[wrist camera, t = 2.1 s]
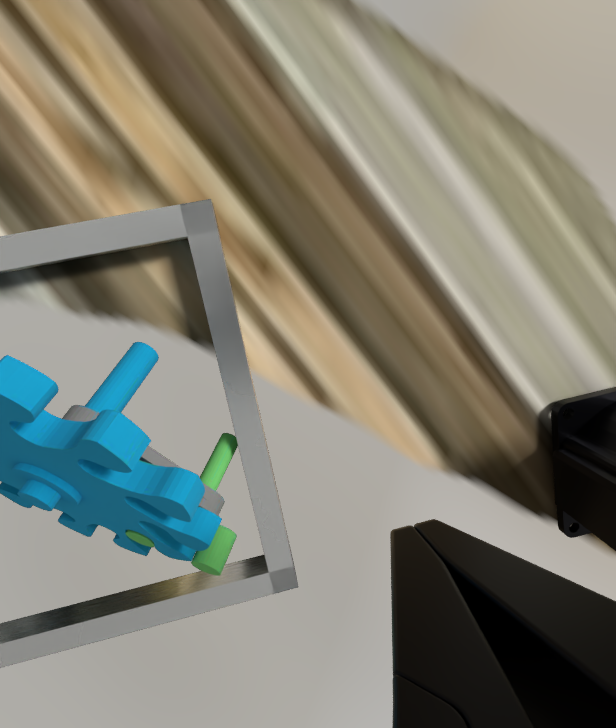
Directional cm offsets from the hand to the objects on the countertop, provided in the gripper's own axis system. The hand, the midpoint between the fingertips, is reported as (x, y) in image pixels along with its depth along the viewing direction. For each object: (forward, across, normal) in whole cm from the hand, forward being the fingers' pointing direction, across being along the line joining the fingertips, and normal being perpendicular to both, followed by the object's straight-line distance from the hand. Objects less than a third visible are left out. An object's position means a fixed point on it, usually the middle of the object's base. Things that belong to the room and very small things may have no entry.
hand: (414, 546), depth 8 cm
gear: (+10, +8, 0) cm, 13 cm away
